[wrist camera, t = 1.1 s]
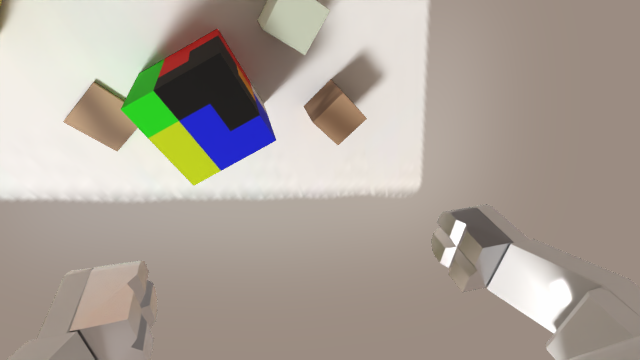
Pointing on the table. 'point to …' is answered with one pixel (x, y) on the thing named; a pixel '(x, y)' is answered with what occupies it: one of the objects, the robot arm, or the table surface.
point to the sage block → (293, 21)
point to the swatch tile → (101, 117)
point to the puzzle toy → (200, 109)
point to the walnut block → (334, 113)
